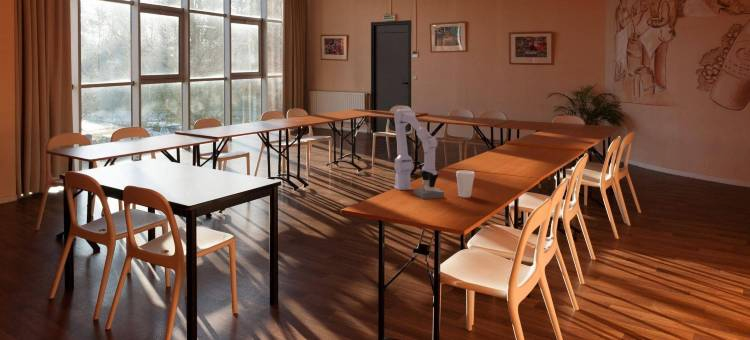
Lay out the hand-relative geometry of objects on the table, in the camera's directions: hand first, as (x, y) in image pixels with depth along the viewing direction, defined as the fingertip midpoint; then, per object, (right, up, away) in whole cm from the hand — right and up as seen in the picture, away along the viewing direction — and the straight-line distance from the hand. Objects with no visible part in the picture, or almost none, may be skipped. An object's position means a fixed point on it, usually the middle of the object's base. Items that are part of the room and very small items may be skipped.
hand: (428, 185), depth 351 cm
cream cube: (0, -2, 0) cm, 2 cm away
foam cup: (+19, -6, +1) cm, 20 cm away
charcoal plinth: (0, -5, +1) cm, 5 cm away
